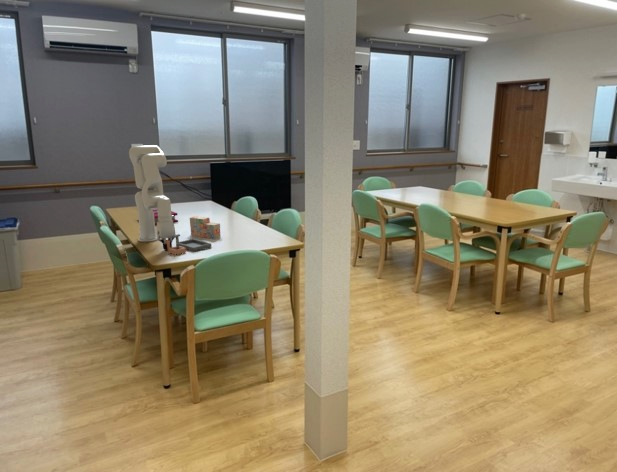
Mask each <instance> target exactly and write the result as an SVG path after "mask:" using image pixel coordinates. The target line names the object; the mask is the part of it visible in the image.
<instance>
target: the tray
mask: <svg viewBox="0 0 617 472" xmlns="http://www.w3.org/2000/svg"><path fill="white" fill-rule="evenodd" d="M179 246H181V247H184V248H186V249H187V250H186V251H189V250H190V252H193V251H195V252H198V251H203V250H208V249H210V248H212V243H210V242H206V241H204V240H201V239H196V238H191V239H186V240H181V241H179Z"/></svg>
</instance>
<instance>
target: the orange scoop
mask: <svg viewBox="0 0 617 472" xmlns="http://www.w3.org/2000/svg"><path fill="white" fill-rule="evenodd" d="M166 244H167V250H168V251H167V252H168V254H169V253H172V254H171V255H173V254H175V255H174V256H177V255H176V254H179V255H182V254H181V253H183V254H186V253H187V250H186V248H184V247H181V246H179V249H177V248H176V246H172V248H170V240H168V239H166ZM185 252H186V253H185Z"/></svg>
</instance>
